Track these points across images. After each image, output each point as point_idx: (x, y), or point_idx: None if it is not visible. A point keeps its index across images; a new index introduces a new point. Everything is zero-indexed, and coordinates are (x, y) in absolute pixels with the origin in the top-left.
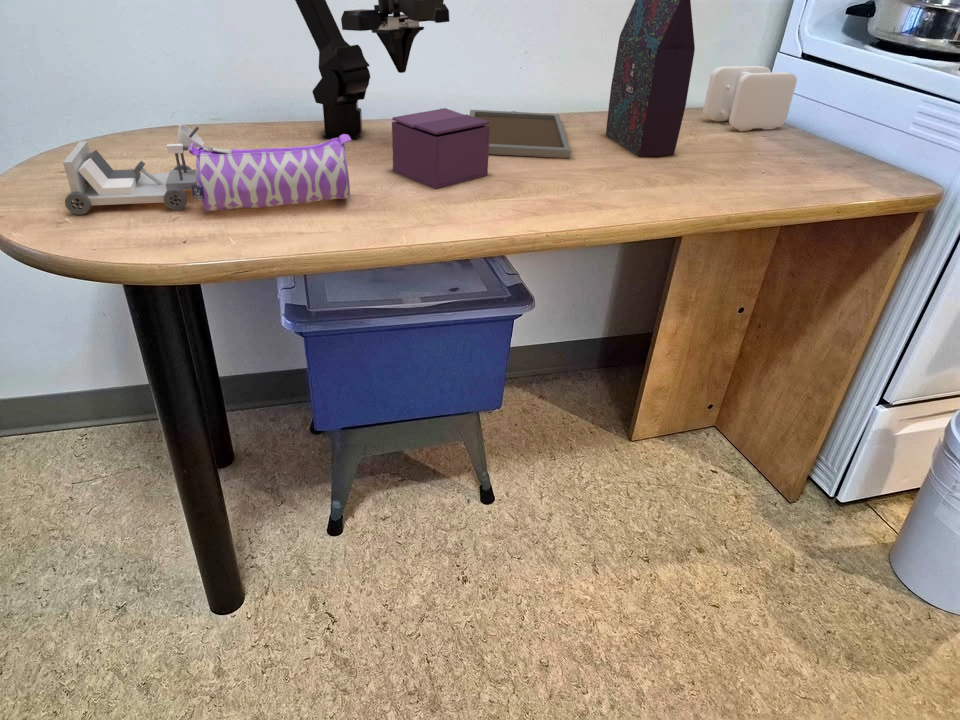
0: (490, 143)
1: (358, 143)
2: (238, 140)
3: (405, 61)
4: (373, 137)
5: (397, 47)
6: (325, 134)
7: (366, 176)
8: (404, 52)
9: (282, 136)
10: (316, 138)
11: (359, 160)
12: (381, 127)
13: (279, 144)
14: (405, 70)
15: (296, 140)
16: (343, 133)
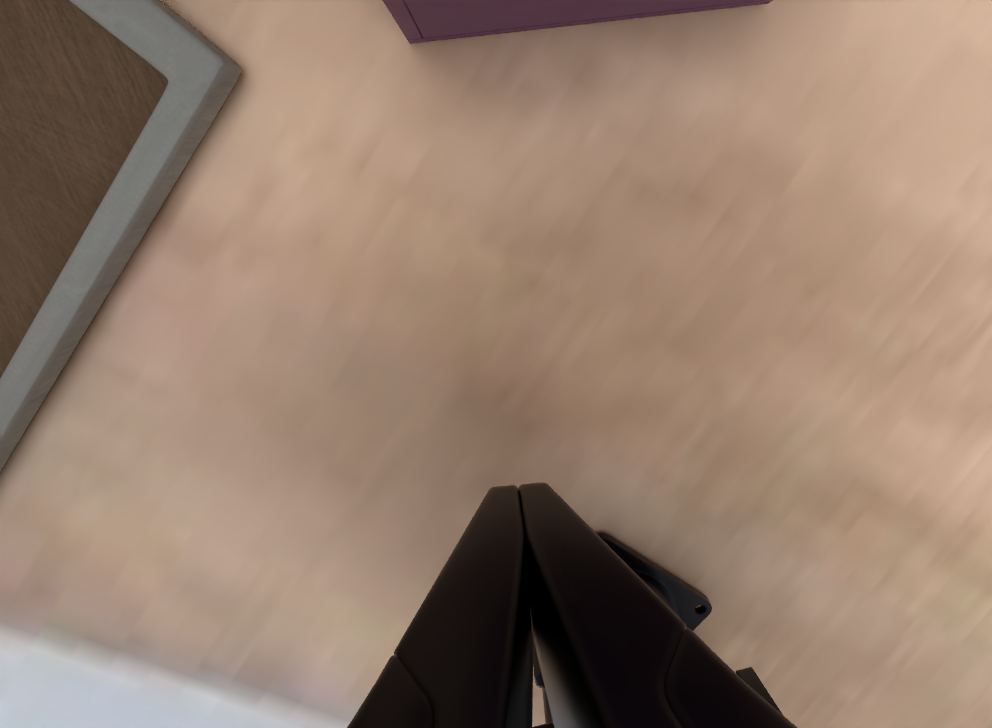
0: (34, 102)
1: (625, 483)
2: (977, 704)
3: (495, 551)
4: None
5: (740, 709)
6: (698, 614)
7: (926, 4)
8: (517, 649)
9: (818, 684)
10: (728, 613)
11: (782, 259)
12: (402, 632)
13: (896, 605)
14: (491, 492)
15: (809, 622)
16: (644, 578)
